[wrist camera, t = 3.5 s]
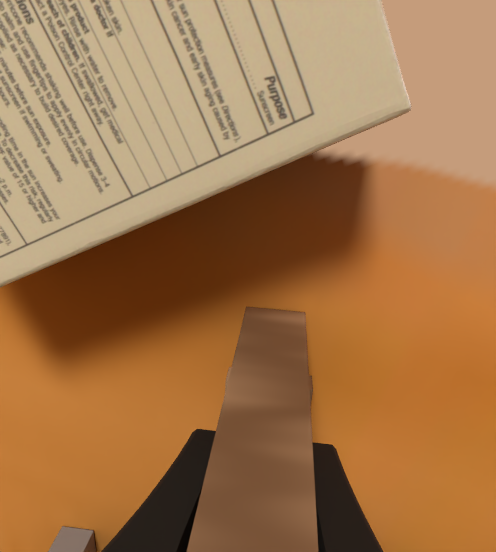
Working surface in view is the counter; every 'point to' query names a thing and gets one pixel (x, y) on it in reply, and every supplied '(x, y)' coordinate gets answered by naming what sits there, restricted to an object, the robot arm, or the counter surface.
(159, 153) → the skincare box
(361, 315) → the counter surface
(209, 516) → the brown piece
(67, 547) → the u-shaped block
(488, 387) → the counter surface
